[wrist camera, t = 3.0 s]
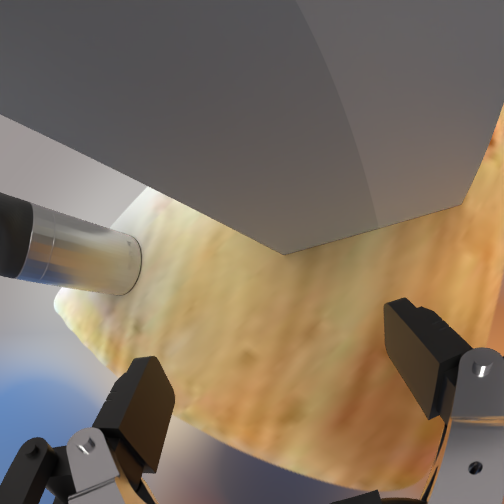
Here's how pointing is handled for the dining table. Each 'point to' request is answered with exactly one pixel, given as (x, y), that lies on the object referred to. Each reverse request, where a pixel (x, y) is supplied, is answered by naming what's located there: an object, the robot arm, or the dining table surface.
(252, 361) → the dining table surface
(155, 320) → the dining table surface
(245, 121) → the stepped stand
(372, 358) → the dining table surface
